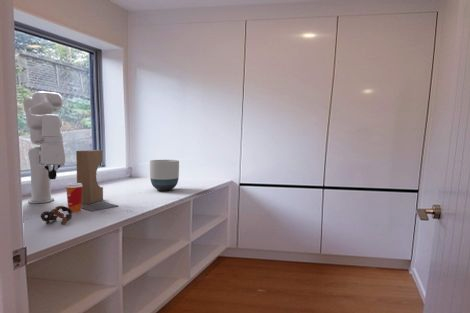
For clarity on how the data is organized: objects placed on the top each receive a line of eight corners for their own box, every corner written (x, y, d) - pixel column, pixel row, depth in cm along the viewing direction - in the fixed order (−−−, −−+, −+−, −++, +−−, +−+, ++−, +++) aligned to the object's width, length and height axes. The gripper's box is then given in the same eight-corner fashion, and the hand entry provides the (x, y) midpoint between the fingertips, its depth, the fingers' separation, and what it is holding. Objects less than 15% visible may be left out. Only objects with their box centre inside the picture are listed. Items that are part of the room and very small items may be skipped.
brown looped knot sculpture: (61, 219, 138) (69, 204, 137) (69, 232, 133) (78, 217, 132) (33, 218, 128) (42, 202, 127) (41, 232, 123) (50, 215, 122)
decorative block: (89, 204, 167) (88, 151, 165) (76, 204, 167) (75, 150, 165) (103, 199, 182) (102, 150, 180) (91, 199, 182) (90, 149, 180)
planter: (151, 188, 224) (151, 159, 222) (179, 187, 227) (179, 159, 226) (148, 193, 204) (148, 161, 202) (179, 192, 207) (179, 161, 206)
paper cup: (67, 209, 154) (66, 183, 153) (84, 208, 157) (83, 182, 156) (64, 213, 147) (64, 185, 146) (82, 212, 150) (81, 184, 149)
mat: (78, 207, 160) (78, 206, 160) (105, 202, 172) (105, 201, 172) (91, 211, 152) (91, 210, 152) (118, 206, 163) (118, 205, 163)
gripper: (36, 140, 134) (37, 181, 134) (71, 140, 145) (72, 178, 146) (30, 140, 138) (31, 180, 139) (64, 140, 150) (65, 177, 151)
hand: (52, 179), depth 143 cm, fingers closed
